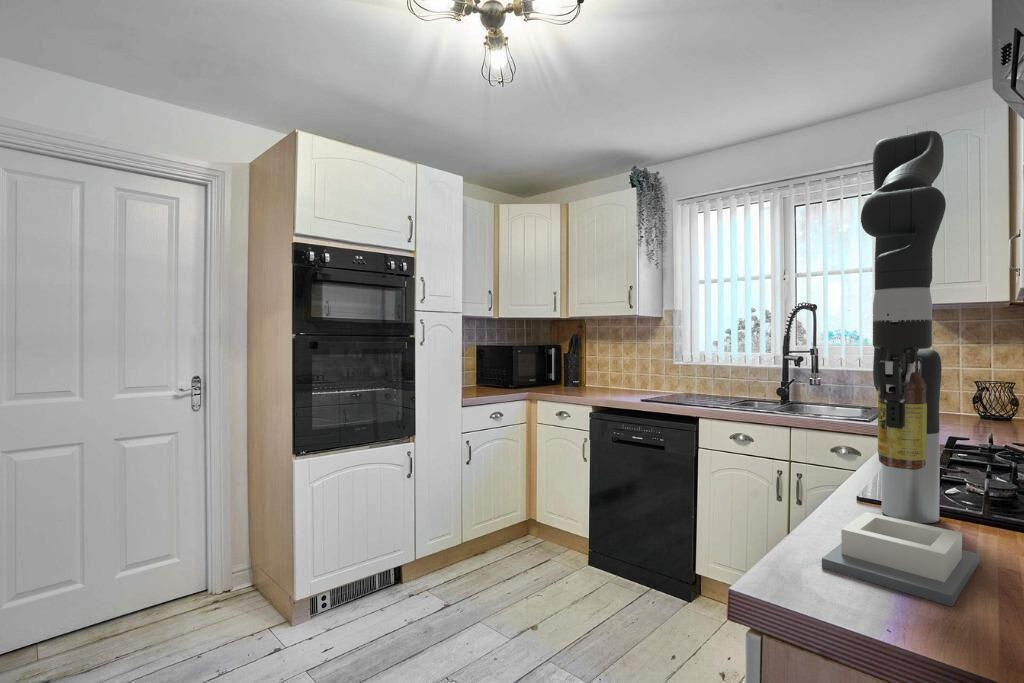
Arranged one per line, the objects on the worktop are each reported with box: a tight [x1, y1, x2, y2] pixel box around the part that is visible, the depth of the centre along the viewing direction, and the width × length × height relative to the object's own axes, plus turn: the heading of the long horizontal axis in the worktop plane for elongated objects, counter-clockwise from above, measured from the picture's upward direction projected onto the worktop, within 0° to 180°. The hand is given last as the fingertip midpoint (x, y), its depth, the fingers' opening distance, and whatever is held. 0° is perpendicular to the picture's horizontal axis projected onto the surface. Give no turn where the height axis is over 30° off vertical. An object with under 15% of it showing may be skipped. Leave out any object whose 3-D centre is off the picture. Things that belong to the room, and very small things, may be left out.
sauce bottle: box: [877, 349, 927, 470], centre depth 84 cm, size 7×6×20 cm
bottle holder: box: [821, 511, 980, 607], centre depth 84 cm, size 20×16×6 cm
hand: (901, 424), depth 84 cm, fingers closed on sauce bottle, 6 cm apart
